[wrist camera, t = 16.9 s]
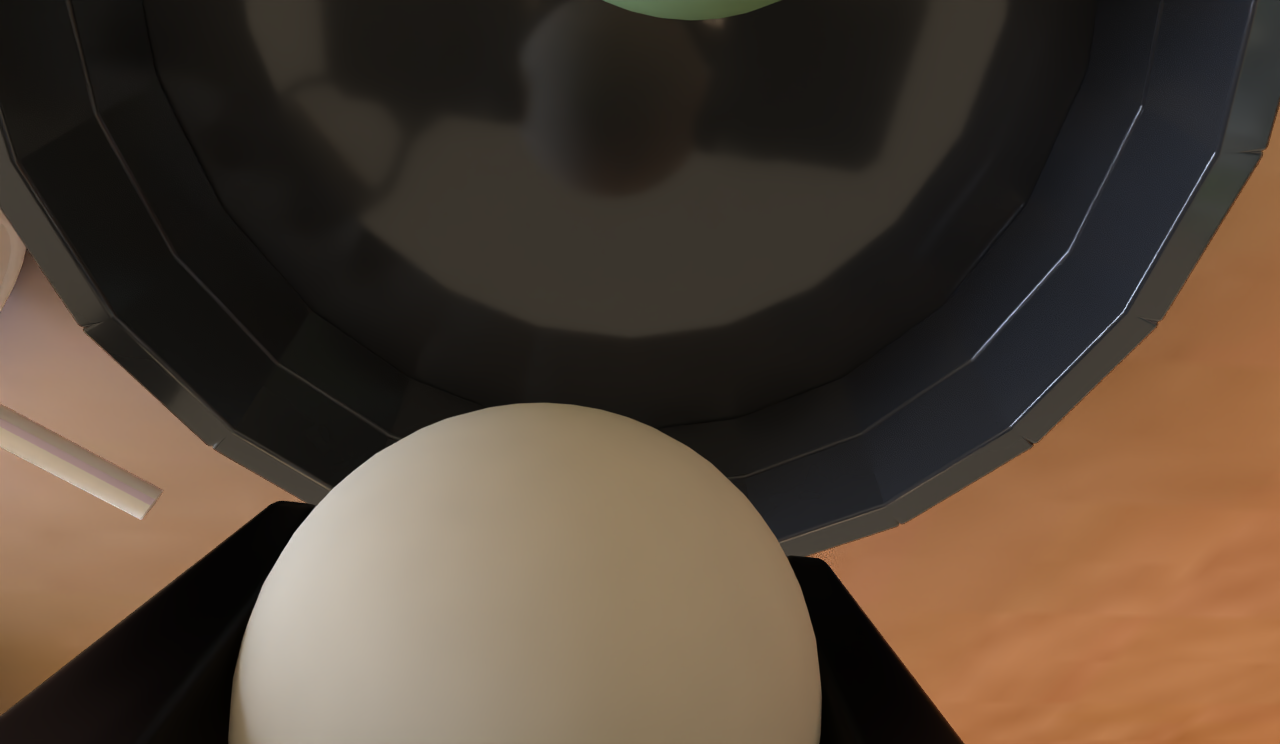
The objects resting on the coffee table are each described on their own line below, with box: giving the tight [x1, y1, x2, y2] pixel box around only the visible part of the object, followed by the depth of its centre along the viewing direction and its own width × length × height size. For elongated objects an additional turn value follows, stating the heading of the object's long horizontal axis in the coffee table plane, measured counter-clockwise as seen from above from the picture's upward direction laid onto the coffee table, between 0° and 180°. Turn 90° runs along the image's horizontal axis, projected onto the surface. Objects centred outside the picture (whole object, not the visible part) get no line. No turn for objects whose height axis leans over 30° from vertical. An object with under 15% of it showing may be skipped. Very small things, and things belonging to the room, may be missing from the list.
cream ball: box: [228, 403, 822, 744], centre depth 7 cm, size 5×5×5 cm
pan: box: [0, 0, 1280, 557], centre depth 11 cm, size 15×15×4 cm
